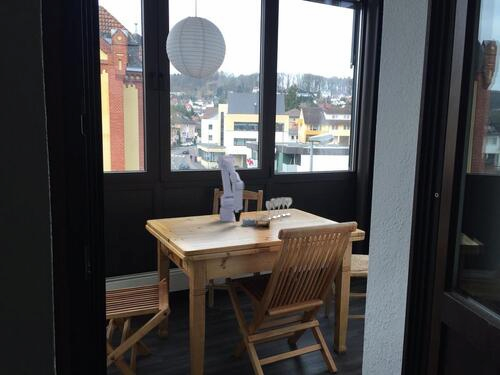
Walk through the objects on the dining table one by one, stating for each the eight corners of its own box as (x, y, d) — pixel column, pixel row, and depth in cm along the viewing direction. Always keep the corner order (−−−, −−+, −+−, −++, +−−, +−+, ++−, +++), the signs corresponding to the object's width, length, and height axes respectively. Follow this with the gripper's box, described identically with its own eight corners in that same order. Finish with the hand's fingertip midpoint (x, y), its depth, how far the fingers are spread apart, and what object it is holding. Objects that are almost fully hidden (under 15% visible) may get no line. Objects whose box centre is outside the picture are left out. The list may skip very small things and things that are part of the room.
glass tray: (244, 226, 265) (244, 220, 265) (242, 224, 270) (242, 218, 270) (255, 225, 267) (255, 219, 267) (252, 224, 272) (253, 218, 272)
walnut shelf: (256, 228, 261) (256, 220, 260) (256, 222, 278) (256, 215, 277) (269, 228, 261) (269, 220, 260) (268, 222, 278) (269, 215, 277)
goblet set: (270, 219, 289) (270, 200, 287) (263, 218, 293) (264, 199, 291) (293, 214, 310) (293, 196, 308) (286, 213, 314) (287, 195, 312)
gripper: (232, 198, 274) (232, 219, 276) (230, 202, 260) (230, 223, 262) (243, 199, 274) (243, 219, 276) (241, 202, 260) (241, 224, 261)
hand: (237, 221), depth 269 cm, fingers closed
